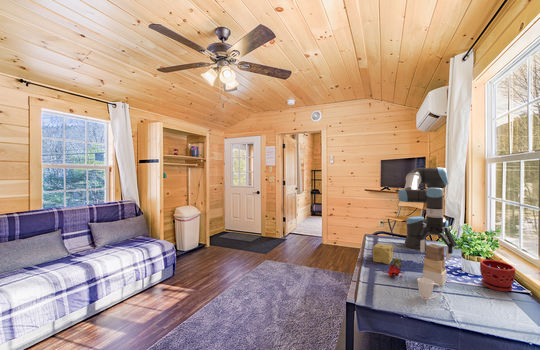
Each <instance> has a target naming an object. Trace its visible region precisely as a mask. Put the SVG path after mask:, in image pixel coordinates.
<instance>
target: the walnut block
mask: <svg viewBox="0 0 540 350" xmlns="http://www.w3.org/2000/svg"><path fill="white" fill-rule="evenodd" d="M425 257H426V258H428V259H431V260H434V261H441V260H444V259H445V246H443V245H440V244H436V243H430V244H427V245H426V249H425Z"/></svg>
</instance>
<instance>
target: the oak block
mask: <svg viewBox="0 0 540 350" xmlns="http://www.w3.org/2000/svg"><path fill="white" fill-rule="evenodd" d="M423 269H424V270H427V271H431V272H435V273H439V274H442V273H443V272H444V270H445V269H446V258H444V260H441V261H434V260H431V259H428V258H426V256H425V257H424V258H423Z"/></svg>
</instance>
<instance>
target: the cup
mask: <svg viewBox="0 0 540 350" xmlns="http://www.w3.org/2000/svg"><path fill="white" fill-rule="evenodd" d="M416 281H417V287H418V292H419V296H420V298H421V299H423V300H426V301H427V300H430V301H431V299H435V298H438V297H439V296H441V295H442V293H443V290H442V286H441V285H439V284H436V283H434V281H432V280H431V279H428V278H423V277H418V278H417V279H416ZM434 286H438V287H439V288H440V293H438V294H437V295H435V296H432V295H433V291H434Z"/></svg>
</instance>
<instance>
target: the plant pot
mask: <svg viewBox="0 0 540 350" xmlns="http://www.w3.org/2000/svg"><path fill="white" fill-rule="evenodd" d="M499 267H500V268H499ZM479 271H480V275H481V283H482V285H483V286H485V287H487V288H489V289H490V290H491V289H492V290H494V291H499V292H510V291H512V290H513V286H512V285H513V283H514V281H515V278H516V268H515V267H514V266H513V265H512V264H509V263H507V262H503V261H500V260H492V259H483V260H480V261H479Z"/></svg>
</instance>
